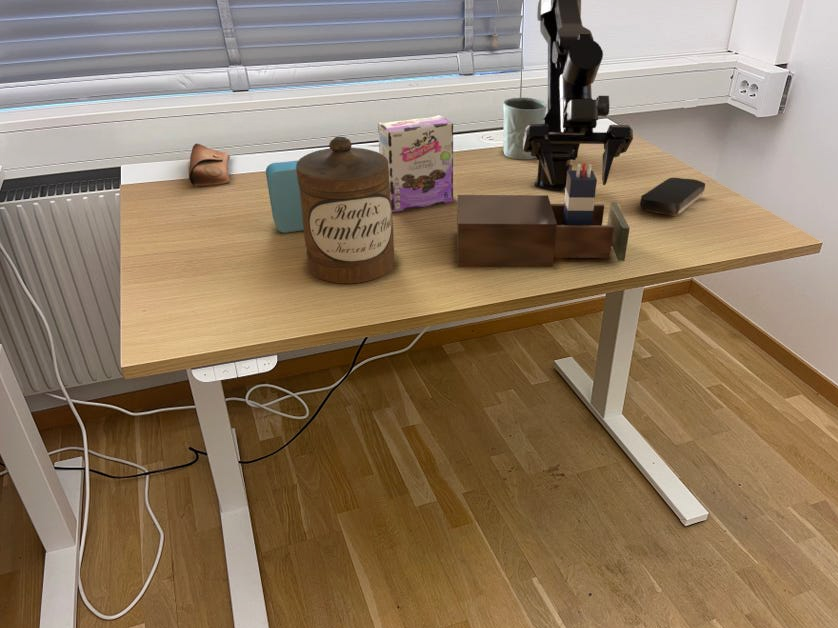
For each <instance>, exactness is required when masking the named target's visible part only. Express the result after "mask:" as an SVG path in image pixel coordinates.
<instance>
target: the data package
mask: <svg viewBox="0 0 838 628" xmlns="http://www.w3.org/2000/svg"><path fill="white" fill-rule="evenodd" d="M297 162H298V160H290V161H281V162H272V163H269V165H267V167H266V169H265V175H266V183H267V189H268V195H269V202H270V208H271V214H272V219H273V222H274V225H275V227H276V229H277V230H278V231H279V232H280V233H284V234H287V233H294V232H301V231H304V228H303V218H302V207H301V198H300V189H299V184H298V179H297V171H296V164H297Z"/></svg>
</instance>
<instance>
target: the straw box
mask: <svg viewBox="0 0 838 628" xmlns="http://www.w3.org/2000/svg"><path fill="white" fill-rule="evenodd" d="M597 182H598V178H597V177H596V174H595V172H594V170H593V169H592V164H591V163H589V164H587V163H586V162H583V163H582V165H581V164H580V163H577V165H576V169H572V170H567V181H566V188H565V189H564V203H563V204H564V212H563V222H562V225H591V224H592V216H593V209H594V204H595V200H596V192H597V191H596V190H597V189H596V188H597Z"/></svg>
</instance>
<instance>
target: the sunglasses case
mask: <svg viewBox="0 0 838 628" xmlns="http://www.w3.org/2000/svg"><path fill="white" fill-rule="evenodd" d="M230 157H231V154H230V153H228V152H223V151H220V150H217V149H213V148H209V147H207V146H206V145H203V144H200V143H194V144H193V146H192V149H191V153H190V158H189V166H188V180H189V182H190V183H191V184H192V185H193V186H195V187H210V186H219V185H224V184H228V183H230V182H231V178H230V175H229V161H230Z"/></svg>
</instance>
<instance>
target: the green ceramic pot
mask: <svg viewBox="0 0 838 628" xmlns="http://www.w3.org/2000/svg"><path fill="white" fill-rule="evenodd" d="M502 108H503V131H502V132H503V154H504V156H506V157H507V158H510V159H515V160H532V159H536V157H535V156H531V152H525V151H523V138H524V133H525V129H526V127H527V126H528V124H542V122H543V119H544V118H545V116H546V113H547V112H546V111H547V108H548V105H547V103H546V102H544V101H543V100H541V99H537V98H532V97H510V98H507V99H504V101H503V107H502Z"/></svg>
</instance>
